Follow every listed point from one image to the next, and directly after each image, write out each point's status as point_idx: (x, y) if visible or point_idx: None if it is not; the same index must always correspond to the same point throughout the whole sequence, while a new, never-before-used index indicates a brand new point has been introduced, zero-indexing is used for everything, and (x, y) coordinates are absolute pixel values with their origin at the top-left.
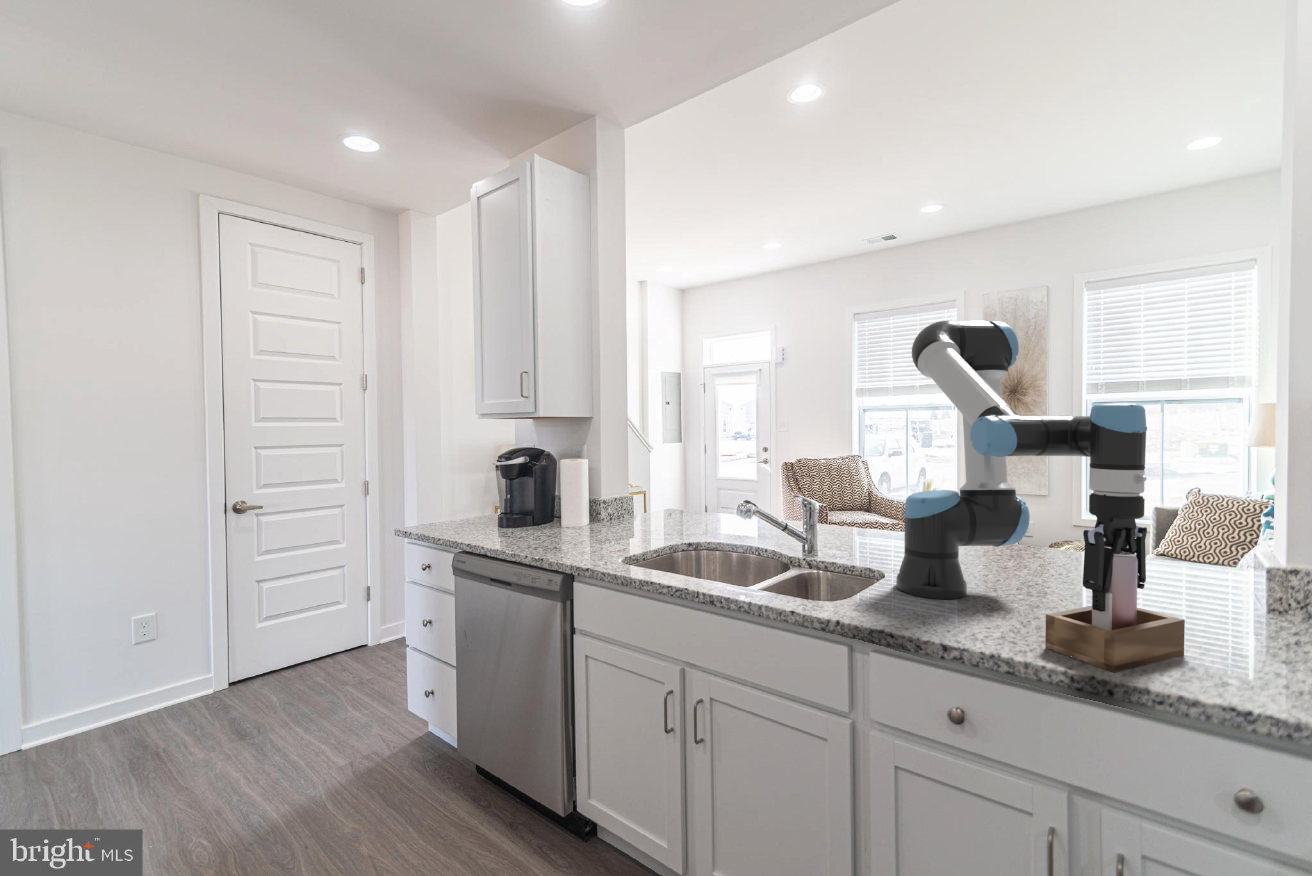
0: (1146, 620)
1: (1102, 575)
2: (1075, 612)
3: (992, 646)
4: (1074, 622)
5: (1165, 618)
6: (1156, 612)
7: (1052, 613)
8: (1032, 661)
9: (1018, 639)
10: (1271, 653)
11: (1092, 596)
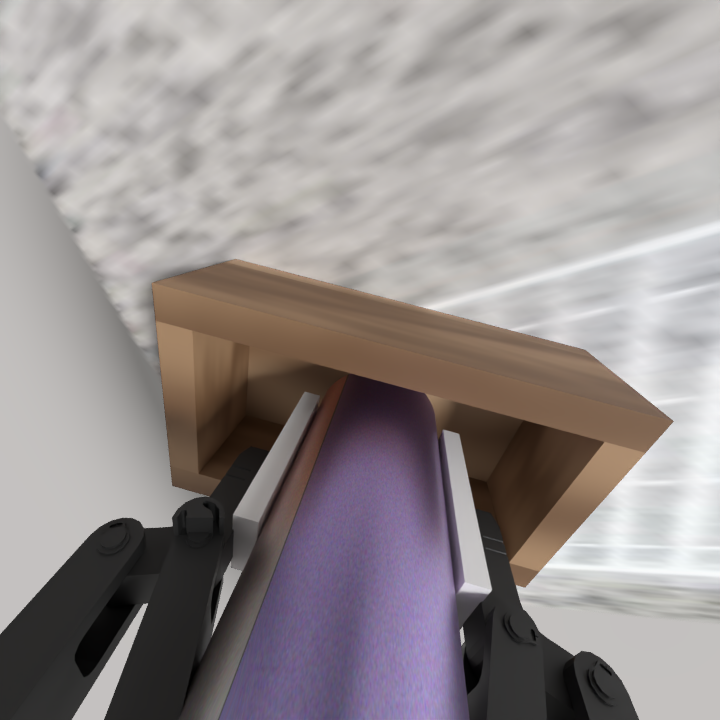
0: (532, 492)
1: (85, 691)
2: (299, 356)
3: (85, 132)
4: (167, 389)
5: (511, 552)
6: (567, 539)
7: (191, 297)
8: (112, 278)
9: (232, 154)
10: (655, 591)
11: (212, 494)
